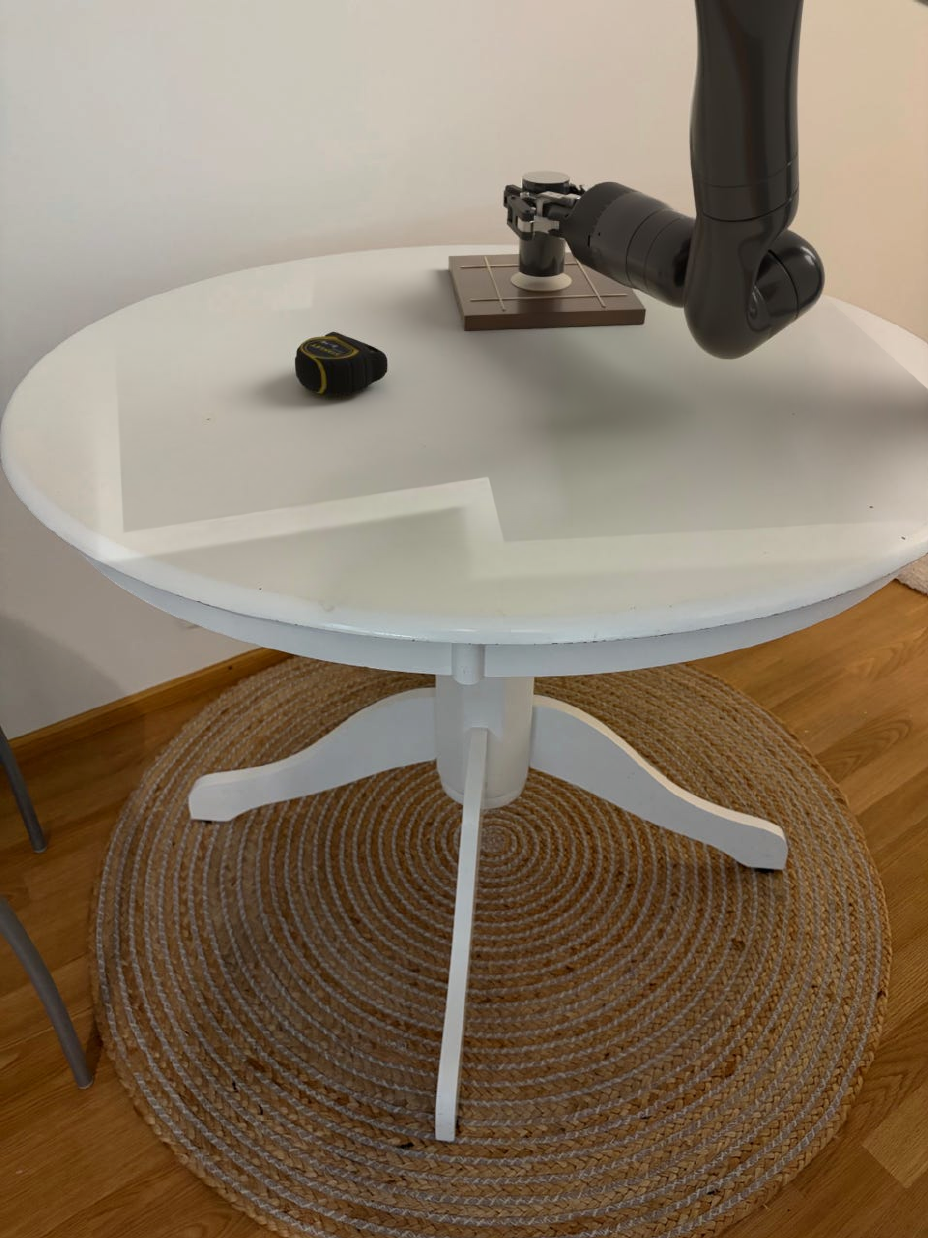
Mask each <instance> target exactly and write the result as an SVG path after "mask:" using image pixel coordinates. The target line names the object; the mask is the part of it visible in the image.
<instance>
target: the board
mask: <svg viewBox="0 0 928 1238" xmlns="http://www.w3.org/2000/svg"><path fill="white" fill-rule="evenodd" d="M518 256H519V253H504V254H503V253H502V254H475V255H474V254H471V255H449V256H448V273H449V276H450V280H451V283H452V287H453V291H454V296H455V299H456V303H457V306H458V310H459V311H458V312H459V314H460V318H461V323H462V325H463V330H464V331H484V330H486V331H487V330H511V329H515V330H516V329H538V328H540V329H541V328H565V327H566V328H567V327H593V326H621V325H622V326H624V325H644V324H645V320H646V313H647V308H646V307H645V306H644V304H643V302H642V301H641V300H640V299H639V297H638V295H637V294H636V292H635V290H634V289H633V288H629V287H626V286H624V285H622V284H620V283H618V282H616V281H614V280H612V279H610V278H608V277H606V276H604V275H602V274H600V273H599V272H597V271H595V270H593V269H591V268H589V267H587V266H585V265H583V264H582V263H580V262H579V261H578V260H577V259H576V258H575V257H574V256H573V254H572V252H571V251H570V252H566V251H565V264H564V272H563V273H562V274H560V275H557V276H552V277H533V276H528V275H525V274H522V273H521V272H519V270H518Z"/></svg>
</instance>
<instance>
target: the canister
mask: <svg viewBox="0 0 928 1238" xmlns="http://www.w3.org/2000/svg"><path fill="white" fill-rule="evenodd" d="M520 183H521V185H520V188H522V189H524V190H526V191H529V192H530V193H534V194H541V193H544V192H547V191H549V192H554V193H558V194H562V195H569V192H570V183H571V176H570V175H568V174H566V173H564V172H559V171H550V170H537V171H530V172H526V173H524V174H522V175H521V182H520ZM552 203H553V202H551V203H550V206H551V204H552ZM533 207H534V208H536V209H537V206H536V204H535V203H533ZM566 246H567V242H566V241H564V240H561V239H559V238H558V237H554V236H552V235H550V234H548V233H544V232H540V231H535V235H533V239H532V240H529V241H524V240H521V239H520V238H519V237H518V254H519V256H518V270H519V272H521V273H522V274H525V275H528V276H533V277H552V276H557V275H560V274H562V273H563V272H564V264H565V253H566V249H567V247H566Z"/></svg>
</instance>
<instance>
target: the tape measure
mask: <svg viewBox="0 0 928 1238" xmlns="http://www.w3.org/2000/svg"><path fill="white" fill-rule="evenodd" d="M388 366H389V365H388V357H387V355H386V353H385V352H383V351H382V350H380V349H379V348H376V347H375V346H372V345H370V344H368V343H365V342H362V341H360V340H358V339H355V338H353V337H350V336H347V335H345V334H342V333H339V332H338V331H331V332H329V333H326V334H325V335H323V336H317V337H311V338H309V339H306V340H305V341H303V342H302V343H301V344H300V345H299V346H298V347H297V349H296V353H295V357H294V369H295V376H296V378H297V379H298V382H299V383H300V385H301V386H302V387H304V389H306V390H308V391H311V392H313V393H315V394H316V393H317V394H321V395H325V396H331V397H335V396H346V395H352V394H356V393H360V392H361V391H364V389H366V388H368V387H369V386H370V385H372V384H375V383H376V382H378V381H380V380H381V379H383V378H384V377H385V375H386V374H387V372H388Z"/></svg>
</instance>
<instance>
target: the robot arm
mask: <svg viewBox="0 0 928 1238" xmlns="http://www.w3.org/2000/svg"><path fill="white" fill-rule="evenodd" d="M909 1H910V2H912V3H914V4H916V5H918V6H920V7H922V8H923V9H925V10H927V11H928V0H909ZM804 2H805V0H693V5H694V14H695V27H696V53H695V61H694V63H695V64H694V71H693V77H692V84H691V89H690V97H689V104H688V114H687V115H688V116H687V139H688V155H689V164H690V173H691V180H692V190H693V198H694V207H695V216H692V215H690V214H689V213H685V212H682V211H681V210H680V211H679V210H678V209H676V208H674V207H673V206H672V205H670V204H669V203H667V202H665V201H663V200H661V199H660V198H657V197H654V196H652V195H649V194H647V193H644V192H641V191H639V190H637V189H634V188H631V187H629V186H626V185H625V184H623V183H619V182H616V181H603V182H599V183H595V184H594V185H589V186H588V184H585V183H579V184H574V183H572V182H570V192H569V195H562V194H558V193H554V192H549V191H547V192H544V193H541V194H534V193H530V192H529V191H526V190H524V189H522V188H521V186H518V185H515V184H513V183H512V184H506V185H505V187H504V190H503V197H502V199H503V200H502V202H503V203H502V206H503V207H504V208H505V209H507V214H506V215H507V216H506V217H507V218H506V225H507V226H508V227H509V228H510V229H511V231H513V233H514V234H515V235H516V236H517V237H518V239H519V238H520V239H521V240H524V241H529V240H532V239H533V235H535V231H540V232H544V233H548V234H550V235H552V236H554V237H558V238H559V239H561V240H564V241H566V245H567V246H568V249H569V250H570V252H572V254H573V256H574V257H575V258H576V259H577V260H578V261H579V262H580V263H582V264H583V265H585V266H587V267H589V268H591V269H593V270H595V271H597V272H599V273H600V274H602V275H604V276H606V277H608V278H610V279H612V280H614V281H616V282H618V283H620V284H622V285H624V286H626V287H629V288H632V289H633V290H637V291H640V292H641V293H644V294H645V295H647V296H649V297H651V298H653V299H655V300H657V301H659V302H661V303H664V304H665V305H667V306H670V307H672V308H676V309H683V314H684V318H685V322H686V325H687V329H688V331H689V333H690V336H691V337H692V338H693V340H694V341H695V343H696V344H697V345H698V347H699V348H700V349H702V350H703V351H704V352H705V353H706V354H708V355H709V356H711V357H714V358H716V359H719V360H731V361H733V360H737V359H740V358H742V357H744V356H747V355H749V354H750V353H752V352H754V351H755V350H756V349H758V348H759V347H761V346H762V345H764V344H765V343H766V342H767V341H769V340H770V339H772V338H773V337H774V336H776V335H778V334H779V333H780V332H781V331H783V330H784V329H786V328H787V327H788V326H790V325H791V324H793V323H795V322H796V321H797V320H799V319H800V318H802V317H803V316H804V315H806V314H807V313H808V312H809V311H810V310H812V308H813V307H814V306H815V305H816V304H817V303H818V301H819V299H820V298H821V296H822V295H823V292H824V288H825V283H826V273H825V267H824V263H823V261H822V258H821V256H820V254H819V253H818V251H817V249H816V248H815V247H814V245H812V244H811V242H809V241H808V240H807V239H806V238H805V237H804V236H802V235H801V234H798V232H796V231H793V230H792V229H789V228H790V226H792V224H793V222H794V221H795V218H796V217H797V213H798V208H799V205H800V204H799V203H800V144H799V140H800V139H799V138H800V137H799V67H800V66H799V65H800V46H801V33H802V22H803V13H804V11H803V10H804V4H805V3H804ZM551 202H553V203H552V204H551V206H550V203H551ZM533 203H535V204H536V206H537V209H536V208H534V207H533Z"/></svg>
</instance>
